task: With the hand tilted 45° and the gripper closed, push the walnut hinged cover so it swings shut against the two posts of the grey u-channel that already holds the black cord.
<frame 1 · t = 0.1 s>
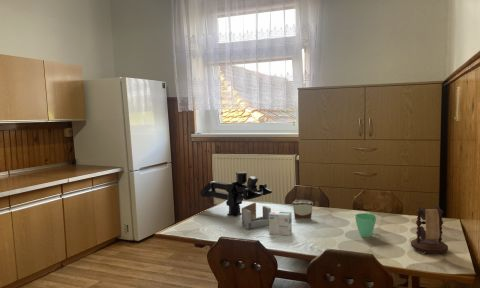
hand: (266, 193, 212), 17 cm above the table, tool horizontal, fingers open, 9 cm apart
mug: (366, 234, 189), on the table
grey u-channel: (257, 226, 206), on the table
food container: (302, 218, 221), on the table
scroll: (428, 250, 167), on the table
cover: (249, 214, 211), point 5 cm above the table, hinge at 30.0°
light bulb box: (280, 233, 195), on the table
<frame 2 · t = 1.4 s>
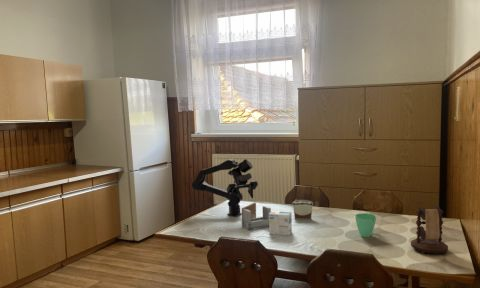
hand: (247, 198, 217), 13 cm above the table, tool tilted 45°, fingers open, 7 cm apart
nothing on the table moved.
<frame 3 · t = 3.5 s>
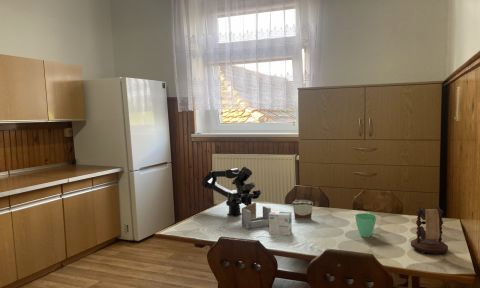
hand: (250, 208, 215), 8 cm above the table, tool tilted 45°, fingers closed
cover: (249, 214, 211), point 5 cm above the table, hinge at 29.9°, touching gripper
everything else where it was.
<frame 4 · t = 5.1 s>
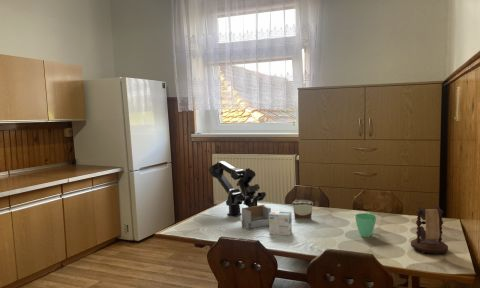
hand: (255, 210, 210), 8 cm above the table, tool tilted 45°, fingers closed on cover
cover: (253, 215, 209), point 5 cm above the table, hinge at 0.0°, touching gripper
everything else where it was.
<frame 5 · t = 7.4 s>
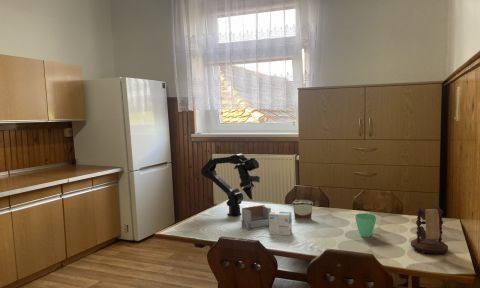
hand: (251, 199, 219), 12 cm above the table, tool tilted 25°, fingers closed
cover: (253, 215, 209), point 5 cm above the table, hinge at -0.8°
everything else where it was.
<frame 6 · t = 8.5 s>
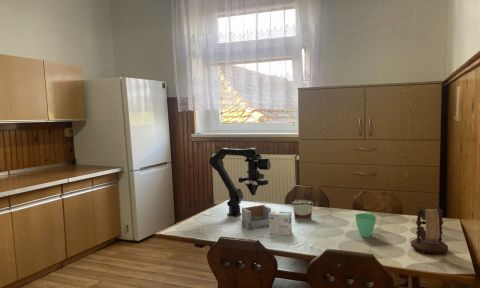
hand: (253, 195, 224), 13 cm above the table, tool pointing down, fingers closed
nothing on the table moved.
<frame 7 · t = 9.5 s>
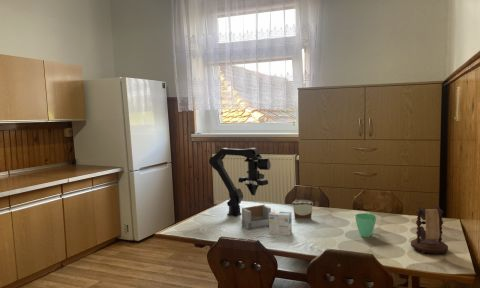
hand: (253, 195, 224), 13 cm above the table, tool pointing down, fingers closed
nothing on the table moved.
at the end: cover at -1° (first picture: +30°) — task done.
